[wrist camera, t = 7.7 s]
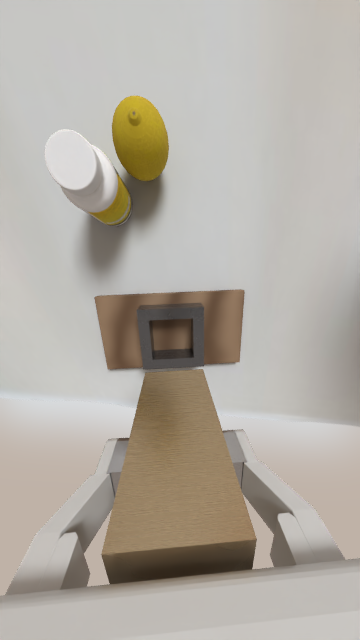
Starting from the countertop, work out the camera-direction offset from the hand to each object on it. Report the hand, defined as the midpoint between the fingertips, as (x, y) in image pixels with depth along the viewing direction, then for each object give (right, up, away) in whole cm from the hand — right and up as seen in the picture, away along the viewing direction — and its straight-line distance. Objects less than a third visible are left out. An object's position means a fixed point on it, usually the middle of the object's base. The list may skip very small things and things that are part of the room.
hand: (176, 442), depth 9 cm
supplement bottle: (-9, +22, +14) cm, 27 cm away
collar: (-1, +5, +18) cm, 19 cm away
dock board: (-1, +5, +19) cm, 20 cm away
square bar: (0, +1, +3) cm, 4 cm away
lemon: (-4, +26, +13) cm, 29 cm away
